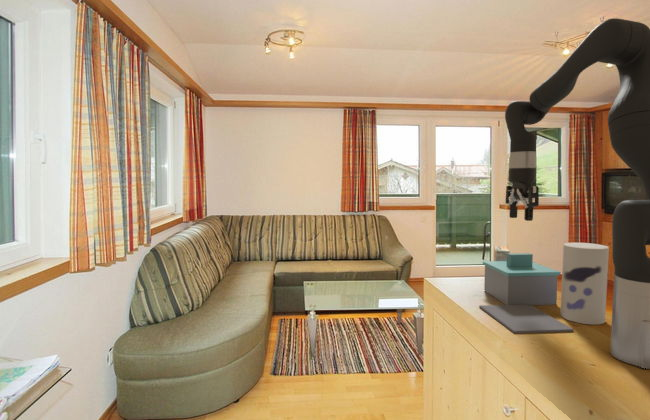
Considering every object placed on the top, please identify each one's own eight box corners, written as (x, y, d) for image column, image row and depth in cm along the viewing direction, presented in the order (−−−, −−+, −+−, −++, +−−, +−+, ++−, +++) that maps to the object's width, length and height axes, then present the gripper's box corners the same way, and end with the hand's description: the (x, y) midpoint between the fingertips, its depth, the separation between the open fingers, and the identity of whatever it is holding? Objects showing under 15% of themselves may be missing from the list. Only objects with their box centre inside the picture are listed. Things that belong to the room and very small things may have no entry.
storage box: (556, 304, 115) (557, 274, 115) (507, 305, 115) (508, 275, 114) (527, 290, 130) (528, 263, 130) (484, 291, 130) (484, 264, 129)
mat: (573, 331, 95) (573, 329, 95) (514, 333, 94) (514, 330, 94) (529, 306, 114) (529, 304, 114) (479, 307, 113) (479, 305, 113)
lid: (560, 279, 114) (561, 258, 114) (507, 280, 113) (508, 259, 113) (529, 266, 130) (529, 248, 130) (482, 267, 129) (483, 249, 129)
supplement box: (492, 281, 142) (493, 245, 141) (506, 282, 141) (507, 246, 139) (494, 286, 134) (495, 249, 133) (509, 288, 133) (510, 250, 132)
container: (561, 321, 102) (565, 246, 100) (559, 309, 111) (562, 240, 109) (608, 327, 97) (612, 249, 96) (601, 315, 106) (605, 243, 104)
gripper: (548, 166, 112) (546, 221, 113) (521, 167, 126) (519, 216, 128) (523, 166, 112) (521, 221, 113) (498, 167, 126) (497, 217, 127)
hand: (520, 219), depth 120 cm, fingers open, 8 cm apart
